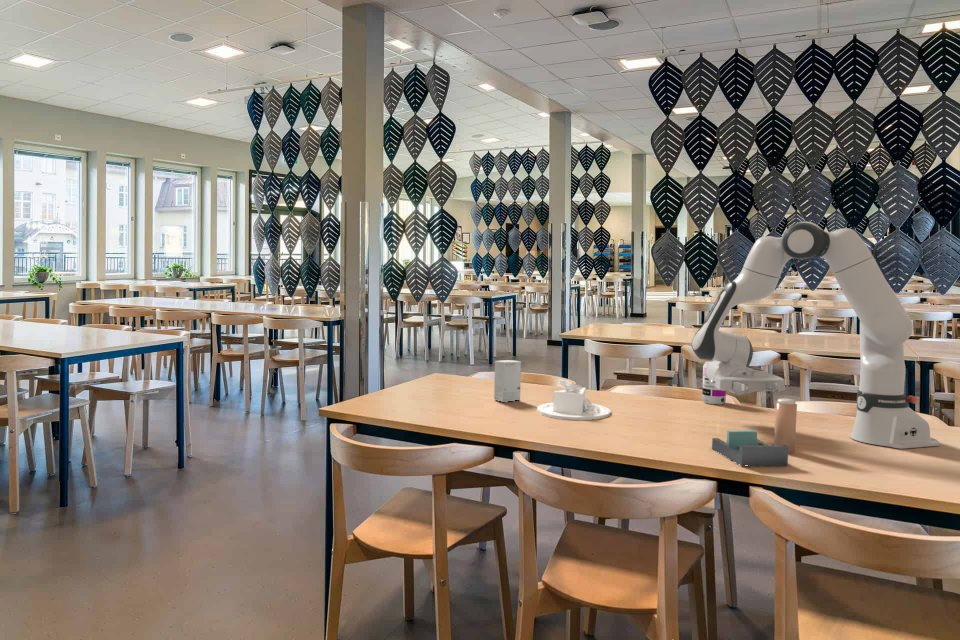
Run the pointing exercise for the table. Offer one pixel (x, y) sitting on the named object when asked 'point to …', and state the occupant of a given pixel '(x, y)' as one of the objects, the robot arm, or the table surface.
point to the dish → (572, 405)
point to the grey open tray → (753, 453)
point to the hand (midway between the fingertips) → (762, 388)
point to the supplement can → (711, 390)
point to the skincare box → (507, 380)
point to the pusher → (741, 438)
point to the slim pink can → (785, 423)
